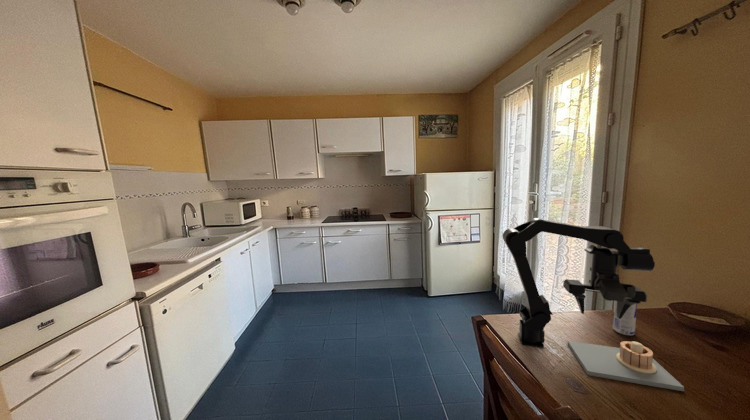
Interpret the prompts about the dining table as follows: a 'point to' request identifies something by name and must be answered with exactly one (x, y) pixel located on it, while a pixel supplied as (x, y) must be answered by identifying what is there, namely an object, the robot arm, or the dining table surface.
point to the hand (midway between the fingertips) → (600, 315)
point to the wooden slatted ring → (636, 356)
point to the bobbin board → (621, 366)
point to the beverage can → (625, 320)
